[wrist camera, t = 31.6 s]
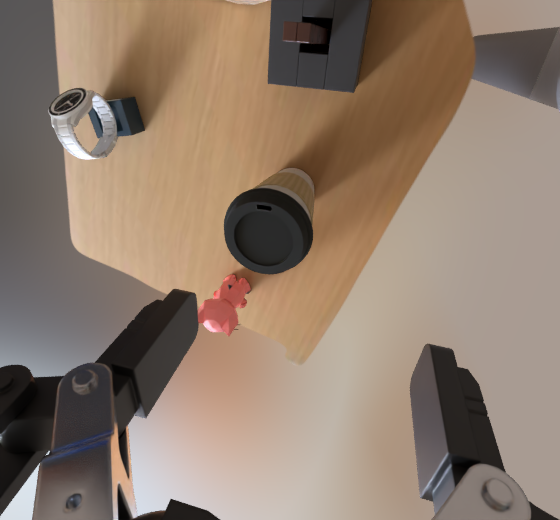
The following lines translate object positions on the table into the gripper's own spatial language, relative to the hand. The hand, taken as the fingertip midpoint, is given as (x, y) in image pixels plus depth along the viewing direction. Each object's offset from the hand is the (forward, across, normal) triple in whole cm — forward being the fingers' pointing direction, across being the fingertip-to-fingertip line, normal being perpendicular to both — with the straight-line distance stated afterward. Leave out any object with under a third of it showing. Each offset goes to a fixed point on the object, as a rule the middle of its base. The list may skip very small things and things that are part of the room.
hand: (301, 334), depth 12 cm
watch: (+36, +32, +2) cm, 48 cm away
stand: (+36, +5, -9) cm, 38 cm away
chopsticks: (+36, +5, -9) cm, 38 cm away
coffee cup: (+36, +7, +9) cm, 38 cm away
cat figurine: (+36, +15, +27) cm, 48 cm away
